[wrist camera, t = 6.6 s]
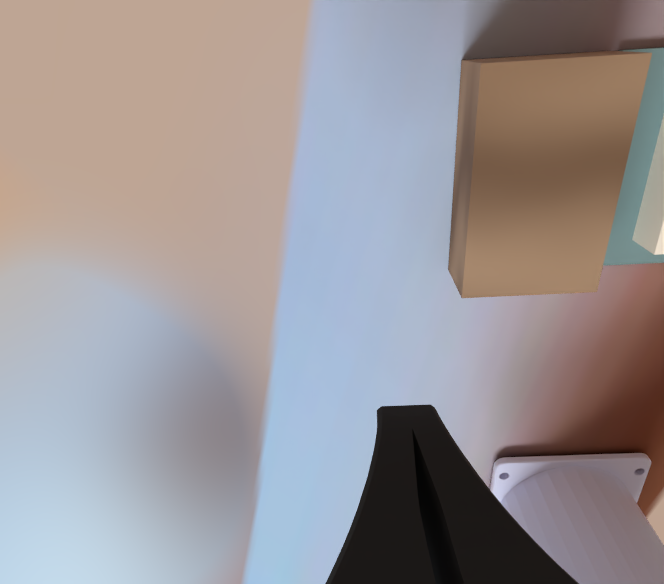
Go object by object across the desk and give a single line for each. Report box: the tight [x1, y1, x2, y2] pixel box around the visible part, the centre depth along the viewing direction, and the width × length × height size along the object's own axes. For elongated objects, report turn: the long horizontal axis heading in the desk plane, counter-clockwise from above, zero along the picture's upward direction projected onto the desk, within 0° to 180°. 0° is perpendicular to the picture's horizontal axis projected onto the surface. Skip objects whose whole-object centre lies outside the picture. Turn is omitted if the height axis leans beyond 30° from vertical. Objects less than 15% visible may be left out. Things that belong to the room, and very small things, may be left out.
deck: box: [448, 51, 652, 298], centre depth 17 cm, size 8×5×2 cm, turn 3°
